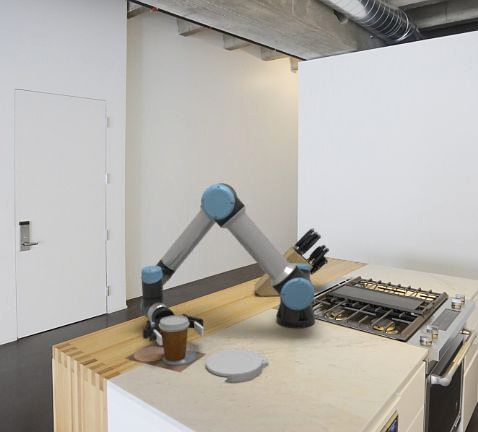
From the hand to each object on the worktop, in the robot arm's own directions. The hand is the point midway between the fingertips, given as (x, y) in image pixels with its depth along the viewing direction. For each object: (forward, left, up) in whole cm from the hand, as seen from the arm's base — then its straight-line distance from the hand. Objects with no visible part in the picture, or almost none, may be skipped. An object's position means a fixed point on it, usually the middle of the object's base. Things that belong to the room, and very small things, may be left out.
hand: (182, 336), depth 135 cm
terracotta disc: (+13, 0, -8) cm, 15 cm away
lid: (-16, -6, -10) cm, 20 cm away
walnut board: (+8, -1, -10) cm, 12 cm away
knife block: (-1, -87, -10) cm, 88 cm away
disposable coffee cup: (+4, -1, -8) cm, 9 cm away
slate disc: (+3, -2, -8) cm, 9 cm away
